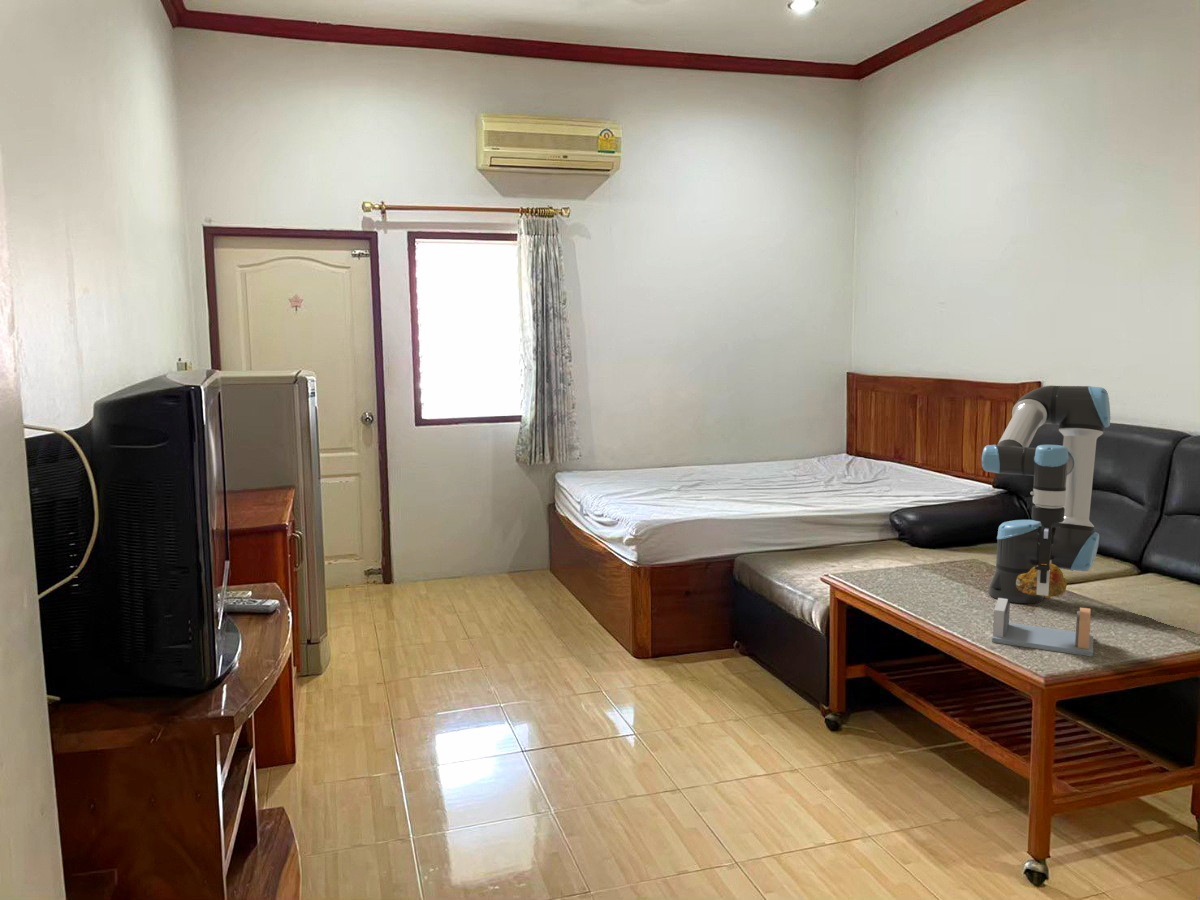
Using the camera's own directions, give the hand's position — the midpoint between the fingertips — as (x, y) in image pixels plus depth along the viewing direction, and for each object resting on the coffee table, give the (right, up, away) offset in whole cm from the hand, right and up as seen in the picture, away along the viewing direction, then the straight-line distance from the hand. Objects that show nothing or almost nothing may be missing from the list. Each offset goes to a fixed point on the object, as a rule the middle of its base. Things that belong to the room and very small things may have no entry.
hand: (1043, 589), depth 232 cm
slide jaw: (+9, -13, -3) cm, 16 cm away
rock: (0, -2, +1) cm, 2 cm away
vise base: (+1, -14, +2) cm, 14 cm away
